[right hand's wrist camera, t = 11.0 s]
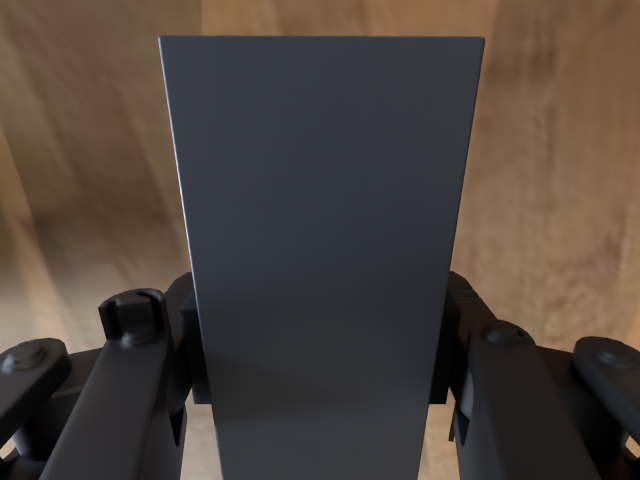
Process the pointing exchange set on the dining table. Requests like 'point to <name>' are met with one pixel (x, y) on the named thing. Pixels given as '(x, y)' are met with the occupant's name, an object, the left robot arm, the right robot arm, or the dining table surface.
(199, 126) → the bar
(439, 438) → the dining table surface
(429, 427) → the dining table surface
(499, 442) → the right robot arm
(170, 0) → the dining table surface
